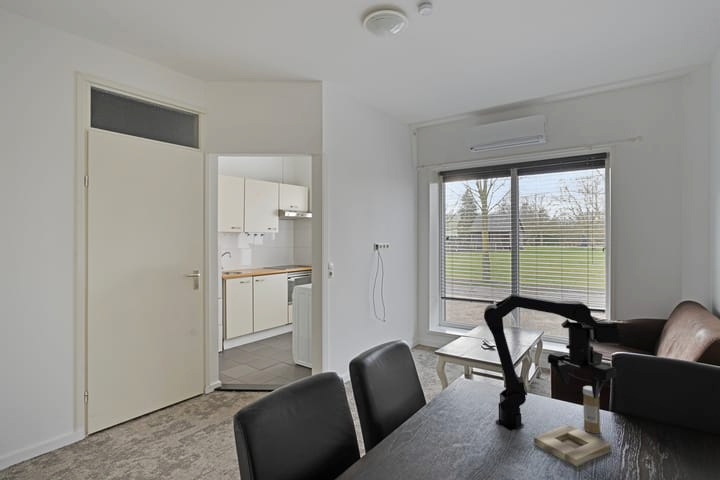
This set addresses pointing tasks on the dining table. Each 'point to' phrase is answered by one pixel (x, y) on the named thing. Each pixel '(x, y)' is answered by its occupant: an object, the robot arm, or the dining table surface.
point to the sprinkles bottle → (591, 411)
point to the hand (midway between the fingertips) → (580, 392)
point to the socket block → (572, 445)
